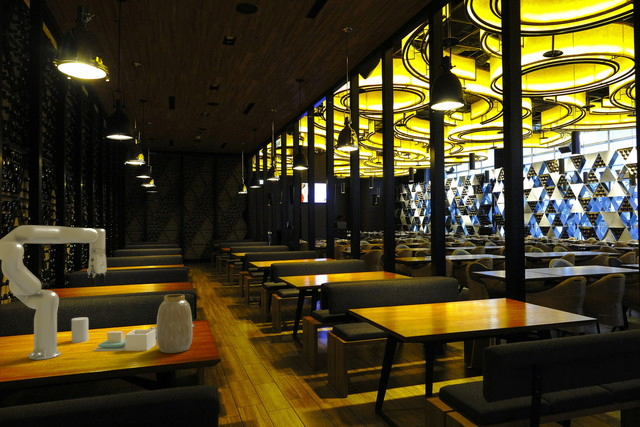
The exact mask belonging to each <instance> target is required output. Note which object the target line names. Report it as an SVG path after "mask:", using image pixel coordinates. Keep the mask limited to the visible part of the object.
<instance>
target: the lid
mask: <svg viewBox="0 0 640 427" xmlns="http://www.w3.org/2000/svg"><path fill="white" fill-rule="evenodd" d="M106 334H107V335H106V336H107V337H106V339H107V340H105V341H102V342H101V343H98V345H97V348H98V347H103V348H121V347H123V346H124V345H125V334H124V331H123V330H117V331H116V330H115V331H114V330H111V331H108V332H107V333H106Z"/></svg>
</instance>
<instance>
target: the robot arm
mask: <svg viewBox="0 0 640 427" xmlns="http://www.w3.org/2000/svg"><path fill="white" fill-rule="evenodd" d="M74 243H75V244H76V243H77V244H78V243H79V244H89V259H88V268H87V270H86V271H87V272H86V273H87V277H88V285H89V286H96V275H98V274H99V276H98V284H106V275H107V274H106V273H107V269H108V267H107V255H106V230H105V228H91V227H90V228H89V227H88V228H87V227H69V226H59V225H32V224H30V225H29V224H27V225H24V224H23V225H18V226H17V227H15V228H13V230H11V231H10V232H9V233H8V234H6V235H5V236H3V237H2V238H1V239H0V260H1V272H2V274H3V276H5V278H6V279H7V280H8V281H9V283H8V288H9V291H10V292H11V293H12V295H14V296H15V298H17V299H18V300H20V302H21V303H23V304H24V305H25V306H27V307H28V308H29V309H33V310H35V314H34V317H33V349H32V352H30V353H28V358H29V359H30V360H34V361H35V360H36V361H38V360H39V361H41V360H49V359H54V358H56V357H59V356H60V355H61V354H62V353H61V351H60V350H58V310H59V309H58V308H59V304H60V297H59V295H58V294H57V293H56V292H55V291H53V290H50V289H49V290H48V289H42V282H41V281H40V279H39V278H38V277H37V276H36V275H34V274H33V273H32V272H31V271H30V270H29V269H28V267H26V265H24V262H23V257H24V253H25V250H24V244H74Z"/></svg>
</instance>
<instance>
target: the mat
mask: <svg viewBox="0 0 640 427" xmlns="http://www.w3.org/2000/svg"><path fill="white" fill-rule="evenodd" d="M93 351H94V352H103V351H104V352H120V351H122V352H123V351H125V345H124V346H123V347H121V348H103V347H98V346H97V347H96V348H94V349H93Z"/></svg>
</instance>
